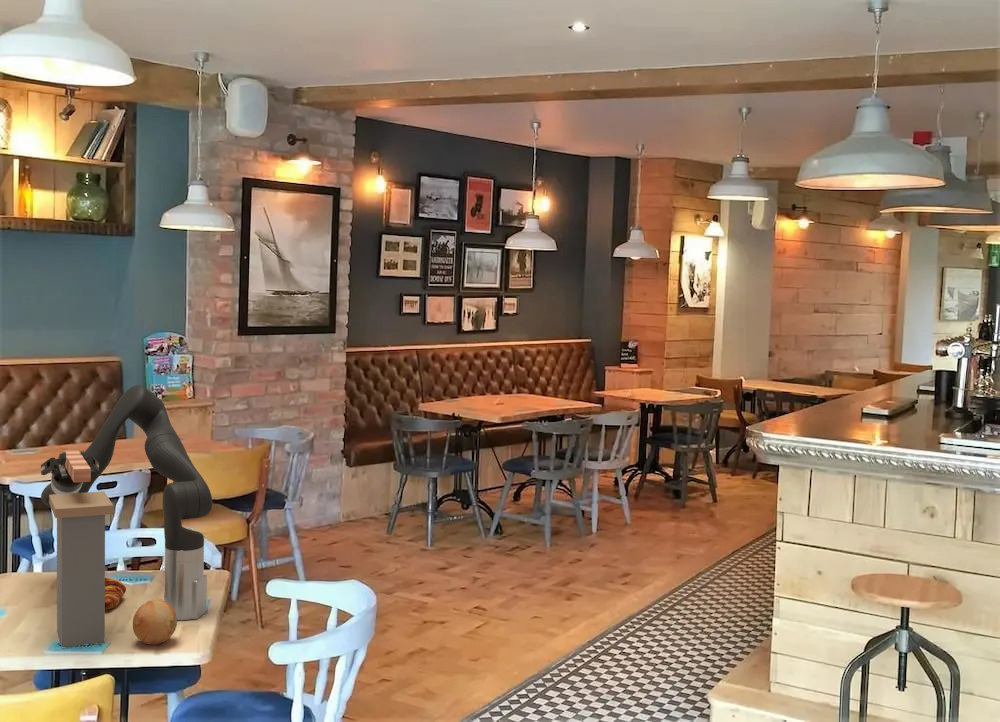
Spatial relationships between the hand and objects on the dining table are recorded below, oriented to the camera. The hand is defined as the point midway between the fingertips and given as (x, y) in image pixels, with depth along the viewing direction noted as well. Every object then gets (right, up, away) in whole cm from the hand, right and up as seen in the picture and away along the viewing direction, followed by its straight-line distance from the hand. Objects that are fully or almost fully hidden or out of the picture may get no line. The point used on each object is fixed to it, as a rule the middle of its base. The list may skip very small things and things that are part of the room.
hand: (73, 455), depth 250 cm
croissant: (+1, -39, +17) cm, 43 cm away
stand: (+6, -41, -10) cm, 43 cm away
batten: (+3, -3, -5) cm, 6 cm away
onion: (+23, -42, -12) cm, 50 cm away
